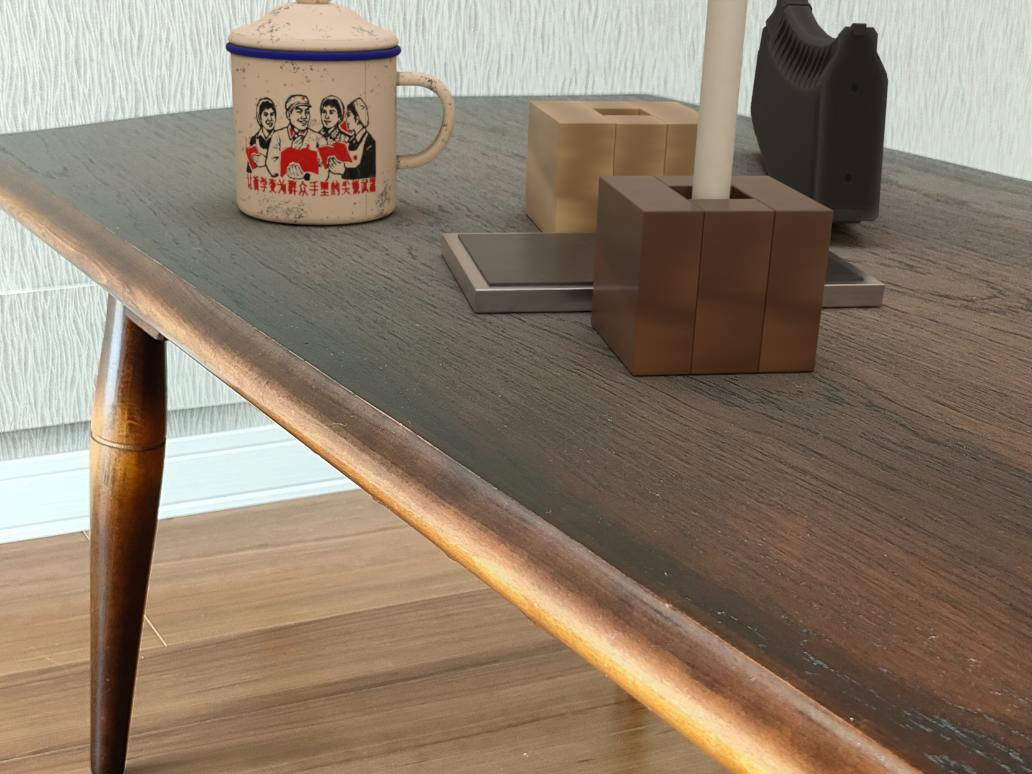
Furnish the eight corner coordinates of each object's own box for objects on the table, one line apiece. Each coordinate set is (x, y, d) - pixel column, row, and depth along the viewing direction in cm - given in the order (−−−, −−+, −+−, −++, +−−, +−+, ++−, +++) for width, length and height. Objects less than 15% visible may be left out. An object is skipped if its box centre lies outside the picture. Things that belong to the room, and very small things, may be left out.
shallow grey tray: (794, 250, 73) (797, 228, 73) (882, 306, 63) (885, 281, 63) (441, 253, 70) (441, 230, 70) (474, 313, 60) (475, 287, 60)
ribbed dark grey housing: (910, 67, 68) (832, -126, 91) (840, 65, 68) (780, -127, 91) (848, 370, 79) (792, 131, 102) (788, 367, 80) (745, 129, 102)
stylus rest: (754, 321, 60) (769, 175, 58) (814, 371, 54) (834, 210, 52) (590, 324, 59) (598, 175, 57) (632, 376, 53) (644, 211, 50)
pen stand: (668, 212, 81) (677, 101, 79) (712, 244, 74) (722, 123, 71) (524, 213, 80) (528, 100, 77) (554, 246, 72) (559, 122, 70)
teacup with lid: (224, 226, 75) (212, -16, 70) (241, 193, 83) (232, -26, 78) (456, 229, 75) (461, -9, 71) (451, 196, 84) (454, -20, 79)
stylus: (709, 341, 57) (744, -38, 52) (720, 351, 56) (756, -37, 50) (675, 342, 57) (706, -39, 51) (685, 352, 56) (718, -37, 50)
